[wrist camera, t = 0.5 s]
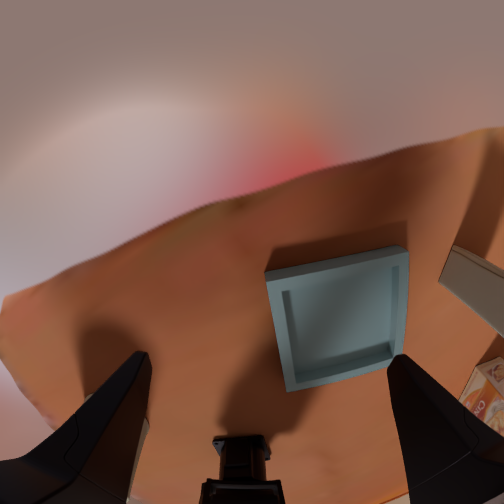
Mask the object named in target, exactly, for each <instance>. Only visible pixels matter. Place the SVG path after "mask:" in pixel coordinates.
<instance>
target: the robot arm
mask: <svg viewBox="0 0 504 504" xmlns="http://www.w3.org/2000/svg"><path fill="white" fill-rule="evenodd" d="M151 375H152V365H151V362H150V359H149V355H148V353H147V352H143V351H135V352H134V353H133V354H132V355H131V356H130V357H129V358H128V359H127V360H126V361H125V362H124V363H123V364H122V365H121V366H120V367H119V368H118V369H117V370H116V371H115V372H114V373H113V374H112V375H111V376H110V377H109V378H108V379H107V380H106V381H105V382H104V383H103V384H102V385H101V386H100V387H99V388H98V389H97V390H96V391H95V392H94V393H93V394H92V395H91V396H90V398H89V399H88V400H87V401H86V402H85V403H84V404H83V405H82V406H81V407H80V408H79V409H78V410H77V411H76V412H75V414H73V415H72V416H71V417H70V418H69V419H68V420H67V421H66V422H65V423H64V424H63V425H62V426H61V427H60V428H58V429H57V430H56V431H55V432H54V433H53V434H51V435H50V436H49V437H48V438H47V439H45V440H44V441H43V442H42V443H40V444H39V445H38V446H36V447H35V448H34V449H33V450H31V451H30V452H29V453H27V454H26V455H24V456H22V457H19V458H16V459H10V460H3V461H0V504H126V502H127V497H128V491H129V486H130V481H131V476H132V471H133V466H134V462H135V457H136V453H137V448H138V444H139V440H140V435H141V431H142V427H143V423H144V419H145V415H146V410H147V404H148V397H149V389H150V382H151ZM387 377H388V384H389V390H390V397H391V404H392V409H393V414H394V418H395V422H396V426H397V431H398V435H399V440H400V445H401V450H402V455H403V460H404V465H405V471H406V477H407V483H408V490H409V498H410V504H504V437H503V436H502V435H500V434H499V433H497V432H496V431H495V430H493V429H492V428H491V427H489V426H488V425H487V424H485V423H484V422H483V421H481V420H480V419H479V418H478V417H476V416H475V415H474V414H473V413H472V412H471V411H469V410H468V409H467V408H466V407H465V406H463V404H462V403H461V402H459V401H458V400H457V399H456V398H455V397H454V396H453V395H452V394H450V393H449V392H448V391H447V390H446V389H445V388H444V387H443V386H441V385H440V384H439V383H438V382H437V381H436V380H435V379H434V378H432V377H431V376H430V375H429V374H428V373H427V372H426V371H424V370H423V369H422V368H421V367H420V366H419V365H418V364H416V363H415V362H414V361H413V360H412V359H411V358H410V357H408V356H407V355H406V354H398V355H395V356H394V358H393V360H392V361H391V363H390V365H389V366H388V369H387ZM212 443H213V446H214V447H215V449H216V451H217V452H218V454H219V456H220V472H219V480H215V479H210V478H207V481H206V482H205V483H202V488H201V496H200V500H199V504H285V499H284V495H283V490H282V485H281V481H280V480H272V481H267V479H266V466H265V461H267V460H270V454H269V451H268V448H267V445H266V442H265V439H264V437H263V436H262V435H257V436H248V437H239V438H228V439H215V440H213V442H212Z"/></svg>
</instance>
